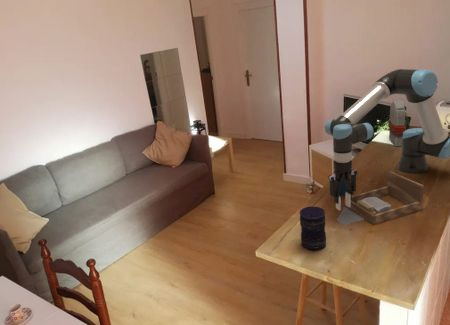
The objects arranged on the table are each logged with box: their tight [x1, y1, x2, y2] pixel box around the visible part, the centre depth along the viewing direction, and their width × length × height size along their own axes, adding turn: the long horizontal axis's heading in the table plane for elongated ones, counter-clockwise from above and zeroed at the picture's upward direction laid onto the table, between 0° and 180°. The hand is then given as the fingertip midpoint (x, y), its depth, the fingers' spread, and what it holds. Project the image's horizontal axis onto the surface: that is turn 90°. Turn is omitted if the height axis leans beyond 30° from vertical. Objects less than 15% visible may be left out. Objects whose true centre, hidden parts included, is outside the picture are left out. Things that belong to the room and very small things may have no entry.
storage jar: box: [299, 206, 327, 252], centre depth 137 cm, size 10×10×15 cm
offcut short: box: [356, 200, 374, 212], centre depth 156 cm, size 3×8×2 cm, turn 15°
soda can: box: [335, 177, 348, 197], centre depth 176 cm, size 7×7×12 cm
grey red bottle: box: [388, 99, 406, 147], centre depth 234 cm, size 19×6×30 cm, turn 168°
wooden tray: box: [343, 170, 425, 226], centre depth 158 cm, size 26×20×12 cm
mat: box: [336, 205, 366, 226], centre depth 158 cm, size 11×16×1 cm
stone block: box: [363, 197, 392, 214], centre depth 159 cm, size 12×5×10 cm
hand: (343, 207), depth 157 cm, fingers open, 4 cm apart
